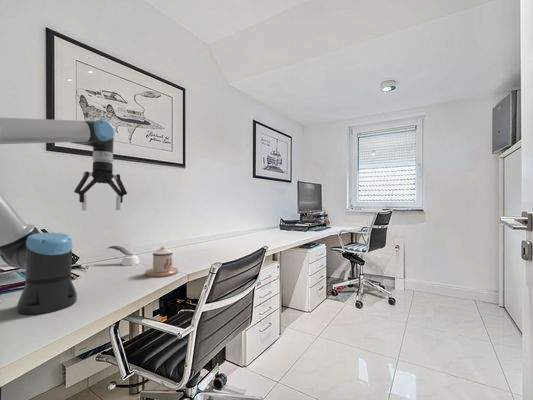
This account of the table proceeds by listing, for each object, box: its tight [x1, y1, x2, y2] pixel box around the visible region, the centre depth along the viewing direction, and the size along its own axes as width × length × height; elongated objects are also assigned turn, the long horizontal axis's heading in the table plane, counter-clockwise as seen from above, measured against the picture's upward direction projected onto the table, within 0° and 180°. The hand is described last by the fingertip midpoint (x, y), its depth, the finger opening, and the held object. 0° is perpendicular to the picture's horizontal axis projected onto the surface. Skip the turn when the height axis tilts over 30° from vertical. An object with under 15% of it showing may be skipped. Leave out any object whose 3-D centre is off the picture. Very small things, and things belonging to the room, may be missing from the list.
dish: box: [144, 266, 179, 278], centre depth 129 cm, size 15×15×1 cm
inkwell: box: [106, 245, 140, 267], centre depth 147 cm, size 9×18×10 cm, turn 91°
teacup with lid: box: [152, 246, 174, 273], centre depth 130 cm, size 12×9×12 cm
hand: (101, 210), depth 116 cm, fingers open, 13 cm apart
